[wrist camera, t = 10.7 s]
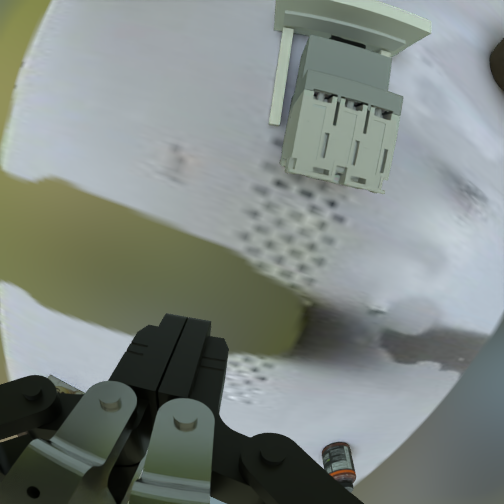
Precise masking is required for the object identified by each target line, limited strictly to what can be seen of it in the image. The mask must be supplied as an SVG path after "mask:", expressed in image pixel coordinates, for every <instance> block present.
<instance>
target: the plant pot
mask: <svg viewBox="0 0 504 504" xmlns="http://www.w3.org/2000/svg"><path fill="white" fill-rule="evenodd" d="M490 66H491V71H492V74H493V76H494V78H495V80H496V82H497V83H498V85H499V86H500V87H501V88H502V89H503V90H504V38H503V39H502V41H501V42H500V43H499V44H498V45H497V47H496V48H495V49H494V51H493V52H492V54H491V57H490Z"/></svg>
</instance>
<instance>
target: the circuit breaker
mask: <svg viewBox="0 0 504 504" xmlns="http://www.w3.org/2000/svg"><path fill="white" fill-rule="evenodd" d="M391 63H392V58H390V57H387V56H384V55H381V54H378V53H375V52H372V51H369V50H366V45H364V44H362V43H358V42H354V41H350V40H346V39H343V38H341V37H338V36H334V35H331V38H329V39H327V38H323V37H319V36H315V35H310V36H309V39H308V41H307V44H306V46H305V49H304V51H303V53H302V56H301V61H300V66H299V72H298V77H297V83H296V88H295V93H294V95H293V97H292V100H291V105H290V110H289V116H288V121H287V126H286V132H285V137H284V142H283V148H282V157H281V160H280V165H281V166H284V167H285V172H286V173H290V174H301V175H306V177H309V178H314V179H318V180H323V181H327V182H332V183H336V184H340V185H344V186H349V187H353V188H357V189H366V190H369V191H370V192H373V193H381V194H385V191H384V190H381V187H382V182H383V179H384V180H387V181H388V177H389V172H390V168H391V163H392V158H393V153H394V148H395V143H396V138H397V133H398V127H399V121H400V115H401V109H402V103H403V96H400V95H397V94H395V93H392V92H389V91H388V86H389V79H390V71H391Z"/></svg>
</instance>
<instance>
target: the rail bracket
mask: <svg viewBox="0 0 504 504" xmlns="http://www.w3.org/2000/svg"><path fill="white" fill-rule="evenodd" d="M274 30H276V31H283V32H282V39H281V46H280V52H279V59H278V65H277V72H276V79H275V85H274V92H273V99H272V105H271V112H270V119H269V125H275V126H279V125H280V120H281V113H282V106H283V100H284V93H285V86H286V79H287V72H288V66H289V59H290V52H291V45H292V38H293V33H296V34H302V35H307V36H310V35H315V36H319V37H323V38H327V39H329V38H331V35H334V36H338V37H341V38H343V39H346V40H350V41H354V42H358V43H362V44H364V45H366V50H370V51H373V52H377V53H378V54H381V55H384V56H387V57H393V56H395V55H396V54H398V53H399V52H401V51H403V50H404V49H406V48H407V47H409V46H411V45H412V44H414V43H416V42H417V41H419V40H421V39H422V38H424V37H426V36H428V35H429V34H431V21H429V20H427V19H425V18H422V17H420V16H417V15H415V14H412V13H410V12H407V11H405V10H402V9H399V8H397V7H394V6H391V5H388V4H385V3H382V2H379V1H376V0H276V6H275V23H274Z"/></svg>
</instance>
